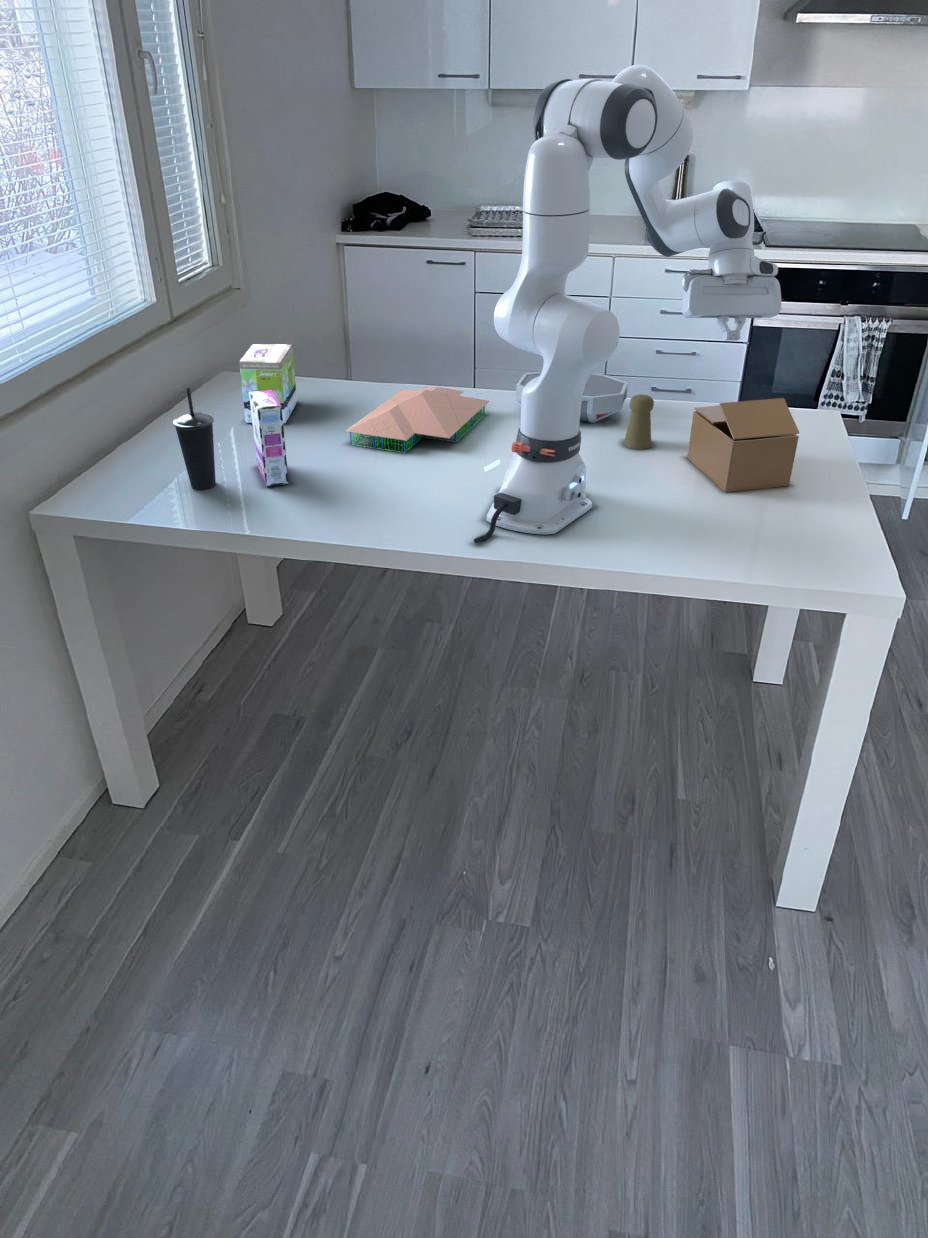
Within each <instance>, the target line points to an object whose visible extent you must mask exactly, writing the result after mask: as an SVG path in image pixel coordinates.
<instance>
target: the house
mask: <svg viewBox="0 0 928 1238" xmlns="http://www.w3.org/2000/svg"><path fill="white" fill-rule="evenodd" d="M463 393H464V391H463V390H458V389H453V388H447V387H442V386H426V387H424V388H423V389H400V390H399V391H398V392H396V393H395V394H394V395H392V396H390V397H389V398H388V399H387V400H385V401H384V402H382V403H381V404H379V405H378V406H376V408H375V409H373V410H371V411H370V412H369V413H367V414H366V415H365V416H364V417H362V418H361V419H359V420H358V421H357V422H355V423H354V424H352V425H351V426H349V428H347V429H346V430H345V431H344V432H345V433H349V439H350V445H351V446H354V445H356V446H358V447H363V448H367V446H366V441H367V444H369V438H370V439H372V446H369V448H372V449H379V450H383V451H384V450H386V451H390V452H399V453H401V451H400V446H403V454H404V453H406V452H408V451H409V450H410V449H411V448H412V447H413V446H414V445H416V444H417V443H418V442H419V441H420V440H421V439H423V438H427V439H434V440H436V438H438V441H439V440H440V441H443V439H445V441H446V442H451V438H453V437H454V435H455V439H454V440H452V442H453V443H457V442H458V441H459V440H460V439H461V438H462V437H463V436H464V435H466V433H468V428H469V429H472V428H473V427H474V426H475V425H476V424H477V423H478V422H479V421H481V419H482V418H483V417H484V416H486V405H487V404H489V402H490V400H488V399H487V400H486V399H481V398H475V397H469V396H463V395H462V394H463ZM478 416H479V418H478V419H477V417H478ZM459 434H460V436H459ZM362 437H364V438H365V437H366V438H365V439H363V445H362V443H360V445H359V444H356V442H358V441H359V440H362ZM441 438H442V439H441ZM365 440H366V441H365ZM393 441H394V442H393ZM396 442H397V443H396ZM399 442H401V444H400V443H399ZM389 444H391V445H397V446H398V449H397V450H398V451H397V450H396V447H394V450H393V449H390V445H389ZM411 444H412V445H411ZM386 446H387V448H388V449H387V448H386Z"/></svg>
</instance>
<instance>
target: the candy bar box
mask: <svg viewBox="0 0 928 1238" xmlns="http://www.w3.org/2000/svg"><path fill="white" fill-rule="evenodd" d="M249 397H250V405H251V415H252V423H251V424H252V431H253V440H254V448H255V458H256V465H257V466H256V467H257V469H258V472H259V474H260V476H261V479H262V480H263V482H264V485H265V487H275V486H283V485H289V483H290V481H289V473H288V461H287V449H286V439H285V430H284V429H285V428H284V423H283V417H282V406H281V405H280V403H279V402H278V400H277V398H276V397H275V395H274V393H273V391H272V390H264V391H255V392H249Z"/></svg>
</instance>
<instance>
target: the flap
mask: <svg viewBox="0 0 928 1238" xmlns="http://www.w3.org/2000/svg"><path fill="white" fill-rule="evenodd" d="M718 406H720V408H721V410H722V413H723V415H724V418H725V420H726V422H727V425H728V427H729V430H730V432H731V435H732V437H733V439H745V438H757V437H768V436H780V435H791V434H796V435H799V434H800V430H799V428H798V426H797V424H796V422H795V420H794V418H793V415H792V413H791V411H790V408H789V407H788V404H787V402H786V399H785V398H784V397H781V398H780V397H779V398H768V399H756V400H755V399H753V400H741V401H729V402H719V404H718Z"/></svg>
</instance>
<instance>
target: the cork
mask: <svg viewBox="0 0 928 1238" xmlns="http://www.w3.org/2000/svg"><path fill="white" fill-rule="evenodd" d="M628 404H629V409H630V410H631V411H630V415H629V419H628V422H627V423H628V424H627V427H626V432H625V435H624V441H623V446H625V447H626V448H629V449H632V450H647V449H650V448H651V447H652V422H651V417H652V416H651V412H652V411H653V409H654V405H655V401H654V399H653V397H651V396H650V395H648V394H643V393H642V394H641V393H640V394H635V395H633V396H632V397H631V398H630V401H629V403H628Z"/></svg>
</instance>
